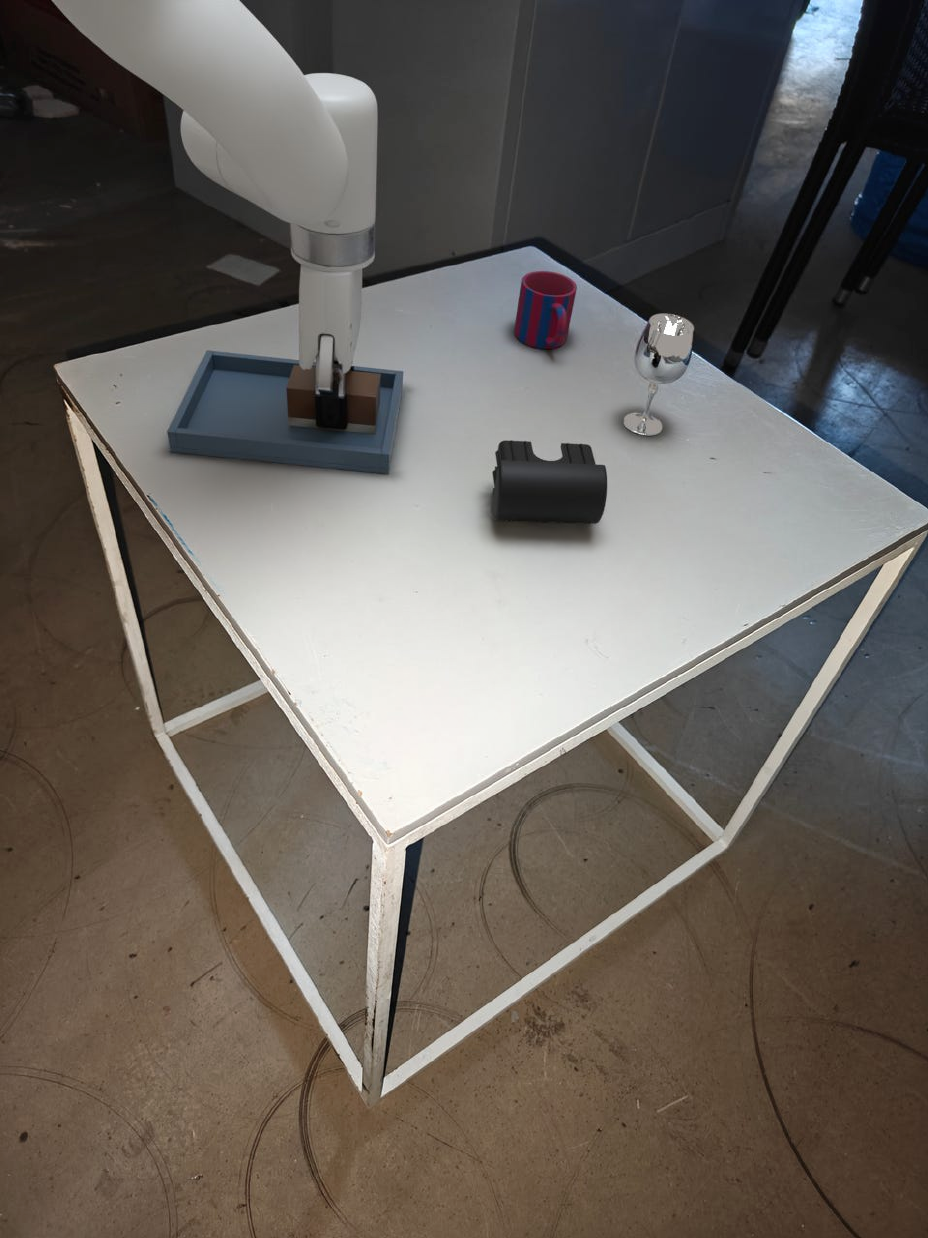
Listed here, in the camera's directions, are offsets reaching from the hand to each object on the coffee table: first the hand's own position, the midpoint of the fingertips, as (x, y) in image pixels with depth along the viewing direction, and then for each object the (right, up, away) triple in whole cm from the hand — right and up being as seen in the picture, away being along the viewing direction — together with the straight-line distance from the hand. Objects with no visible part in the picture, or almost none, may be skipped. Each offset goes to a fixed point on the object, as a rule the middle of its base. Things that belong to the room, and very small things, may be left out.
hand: (335, 411), depth 90 cm
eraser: (0, -1, +1) cm, 1 cm away
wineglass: (+34, 0, +7) cm, 34 cm away
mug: (+23, +13, +17) cm, 32 cm away
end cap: (+21, -12, -6) cm, 25 cm away
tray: (-5, -1, +1) cm, 5 cm away
